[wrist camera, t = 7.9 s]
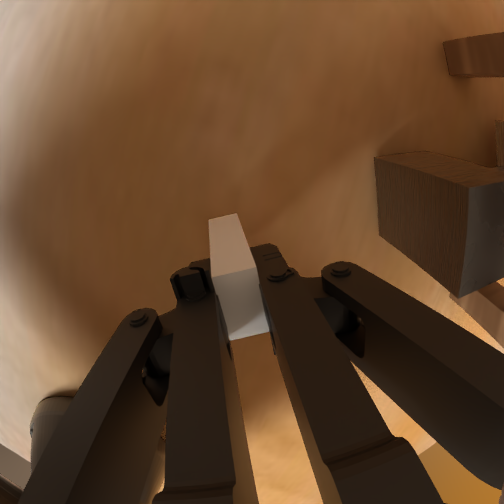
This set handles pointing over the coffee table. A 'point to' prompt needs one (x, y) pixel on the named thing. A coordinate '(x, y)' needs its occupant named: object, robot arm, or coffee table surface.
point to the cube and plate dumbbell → (445, 215)
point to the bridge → (480, 65)
